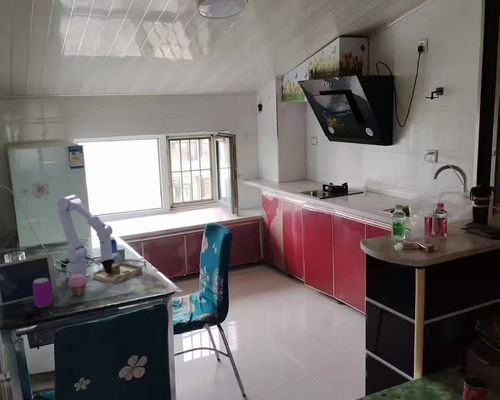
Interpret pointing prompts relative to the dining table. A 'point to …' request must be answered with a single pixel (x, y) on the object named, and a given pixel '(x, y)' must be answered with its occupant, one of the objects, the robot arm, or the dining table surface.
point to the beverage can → (42, 292)
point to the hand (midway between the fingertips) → (108, 273)
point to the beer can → (114, 247)
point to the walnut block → (115, 269)
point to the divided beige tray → (125, 272)
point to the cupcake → (78, 284)
